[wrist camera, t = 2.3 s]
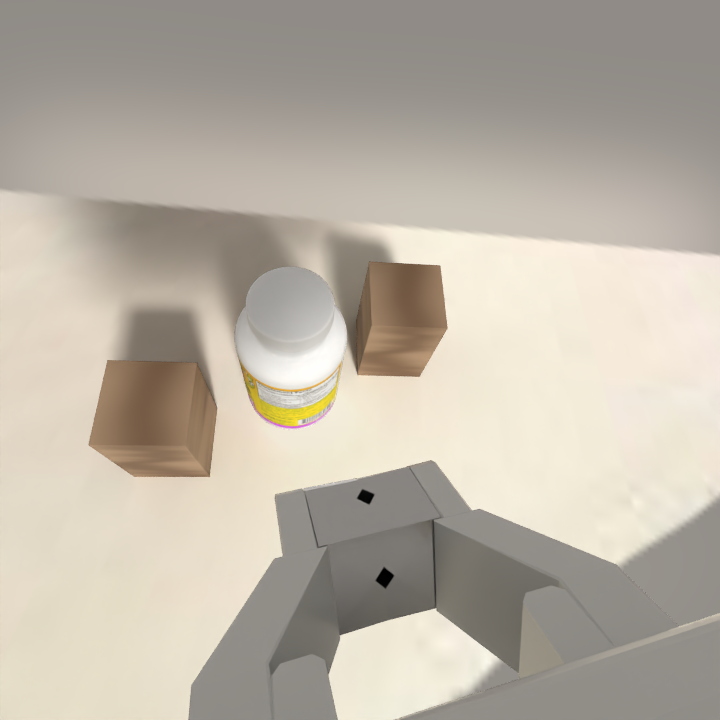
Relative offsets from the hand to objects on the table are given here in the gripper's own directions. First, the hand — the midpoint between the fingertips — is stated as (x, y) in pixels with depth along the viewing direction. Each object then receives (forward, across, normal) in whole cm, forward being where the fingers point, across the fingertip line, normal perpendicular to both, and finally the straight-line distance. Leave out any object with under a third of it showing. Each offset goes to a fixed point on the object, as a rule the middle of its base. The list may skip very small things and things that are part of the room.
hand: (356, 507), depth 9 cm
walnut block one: (+25, +8, +11) cm, 28 cm away
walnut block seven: (+28, -9, +8) cm, 31 cm away
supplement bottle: (+27, -1, +9) cm, 28 cm away
